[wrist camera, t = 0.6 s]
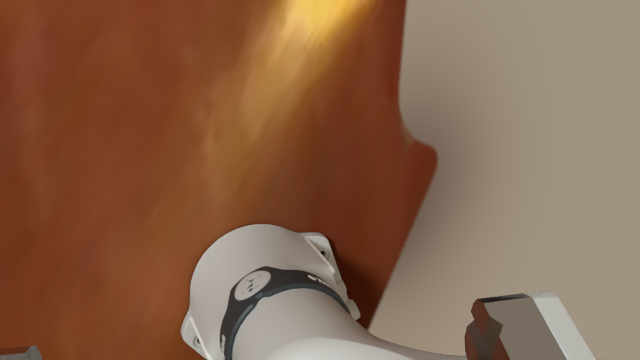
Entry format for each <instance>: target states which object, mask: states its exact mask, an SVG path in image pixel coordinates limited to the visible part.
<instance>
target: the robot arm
mask: <svg viewBox="0 0 640 360" xmlns="http://www.w3.org/2000/svg"><path fill="white" fill-rule="evenodd" d="M321 251H324V253H323V255H322V254H321V253H320V252H321ZM346 291H347V289H346V286H345V284H344V283H343V281H342V279H341V276H340V273H339V270H338V267H337V264H336V261H335V258H334V255H333V253H332V250H331V247H330V244H329V241H328V240H327V238H326V237H325V236H324V235H323V234H321V233H296V232H293V231H290V230H288V229H285V228H282V227H279V226H275V225H269V224H256V225H249V226H244V227H241V228H238V229H236V230H233V231H231V232H229V233H227V234H226V235H224V236H222V237H221V238H220V239H218V240H217V241H216V242H215V243H213V244H212V245H211V246H210V247H209V248H208V250H207V251H206V252H205V253H204V254H203V256H202V257H201V259H200V261H199V262H198V264H197V266H196V268H195V271H194V273H193V277H192V281H191V286H190V307H189V311H188V313H187V315H186V317H185V319H184V321H183V324H182V327H181V336H182V338H183V340H184V341H185V342H186V343H187V344H188V345H189V346H191V347H192V348H193V349H194V350H196V351H197V352H198V353H199V354H200V355H202V356H203V357H204V358H205V359H207V360H596V358H595V356H594V355H593V353H592V352H591V350H590V348H589V347H588V345H587V343H586V342H585V340H584V339H583V337H582V335H581V334H580V332H579V331H578V329H577V328H576V326H575V324H574V322H573V321H572V319H571V318H570V316H569V315H568V313H567V311H566V310H565V308H564V306H563V305H562V303H561V302H560V300H559V298H558V297H557V295H556V294H554V293H553V292H552V291H548V292H538V293H529V294H515V295H506V296H498V297H489V298H481V299H477V300H476V301H475V302H474V303H473V306H472V310H471V313H472V315H473V317H474V321H473V322H472V323H470V324H469V325H468V326H467V329H466V334H465V351H466V355H467V356H453V355H443V354H436V353H431V352H426V351H421V350H416V349H412V348H408V347H404V346H400V345H397V344H394V343H391V342H388V341H385V340H382V339H380V338H377V337H375V336H374V335H372V334H370V333H369V332H368V331H367V330H366V329H365V328H363V327H362V326H361V325H360V324H359V323H358V322H357V321H356V320H357V319H359V317H360V312H359V310H358V308H357V306H356V304H355V303H354V301H353V300H352V299H348V296H347V293H346ZM197 338H198V339H199V341H198V340H197ZM41 359H42V356H41V354H40V352H39V350H38V348H37V347H36V346H29V347H17V348H4V349H0V360H41Z"/></svg>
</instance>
